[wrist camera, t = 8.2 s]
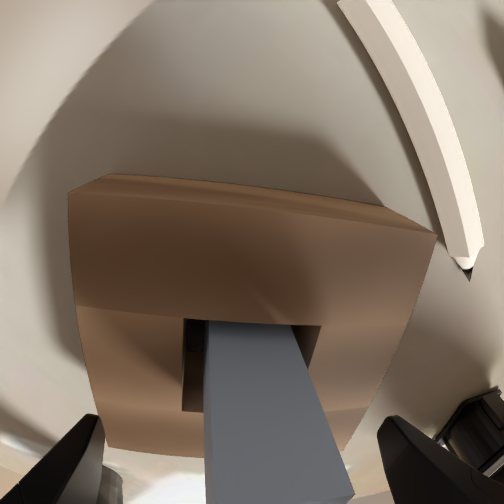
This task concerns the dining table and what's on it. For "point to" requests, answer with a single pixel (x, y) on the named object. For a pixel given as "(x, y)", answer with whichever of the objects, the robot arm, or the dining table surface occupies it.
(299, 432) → the slate pin
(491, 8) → the dining table surface
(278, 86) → the dining table surface
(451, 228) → the marker
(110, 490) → the beverage cup
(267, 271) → the walnut block
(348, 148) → the dining table surface
